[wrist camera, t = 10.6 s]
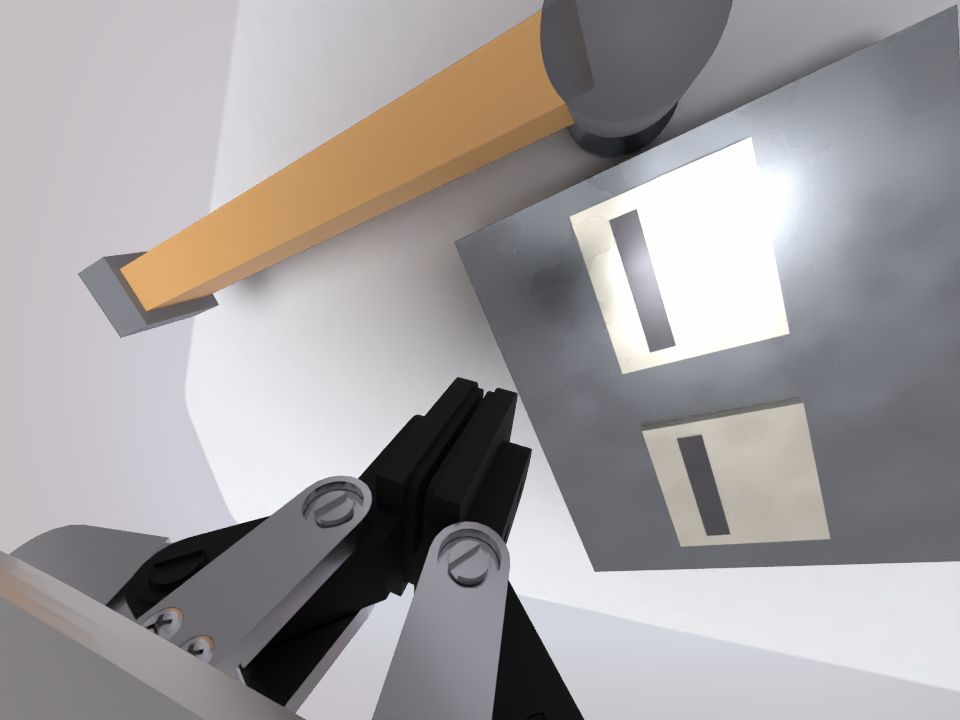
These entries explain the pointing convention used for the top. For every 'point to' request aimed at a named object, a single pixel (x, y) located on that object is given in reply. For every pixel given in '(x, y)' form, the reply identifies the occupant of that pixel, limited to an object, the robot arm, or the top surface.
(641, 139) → the pivot post
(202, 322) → the top surface
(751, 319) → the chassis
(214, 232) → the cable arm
